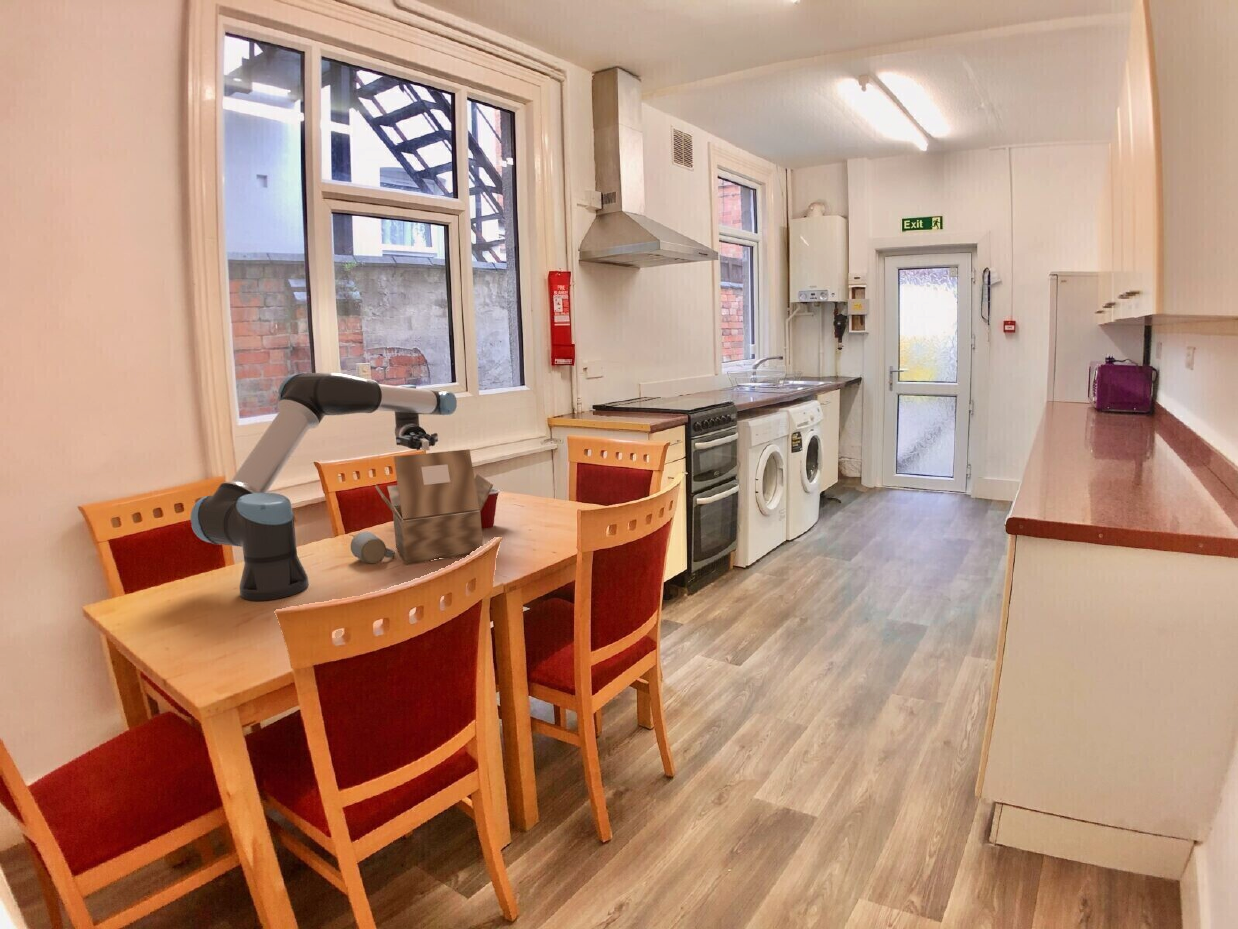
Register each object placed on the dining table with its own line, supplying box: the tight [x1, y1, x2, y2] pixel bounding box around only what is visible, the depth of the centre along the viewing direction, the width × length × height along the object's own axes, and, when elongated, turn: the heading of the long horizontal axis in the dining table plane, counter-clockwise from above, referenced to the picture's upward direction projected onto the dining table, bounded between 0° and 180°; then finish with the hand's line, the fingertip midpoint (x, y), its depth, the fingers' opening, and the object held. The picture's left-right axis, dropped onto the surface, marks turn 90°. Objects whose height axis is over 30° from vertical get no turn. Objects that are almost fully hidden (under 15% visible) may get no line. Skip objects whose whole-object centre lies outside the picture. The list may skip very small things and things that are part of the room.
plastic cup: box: [480, 488, 501, 530], centre depth 230 cm, size 11×11×12 cm
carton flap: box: [393, 449, 479, 519], centre depth 198 cm, size 20×17×1 cm
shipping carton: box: [374, 474, 494, 566], centre depth 209 cm, size 30×26×19 cm
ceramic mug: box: [350, 531, 396, 565], centre depth 200 cm, size 11×8×8 cm
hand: (426, 445), depth 212 cm, fingers closed
